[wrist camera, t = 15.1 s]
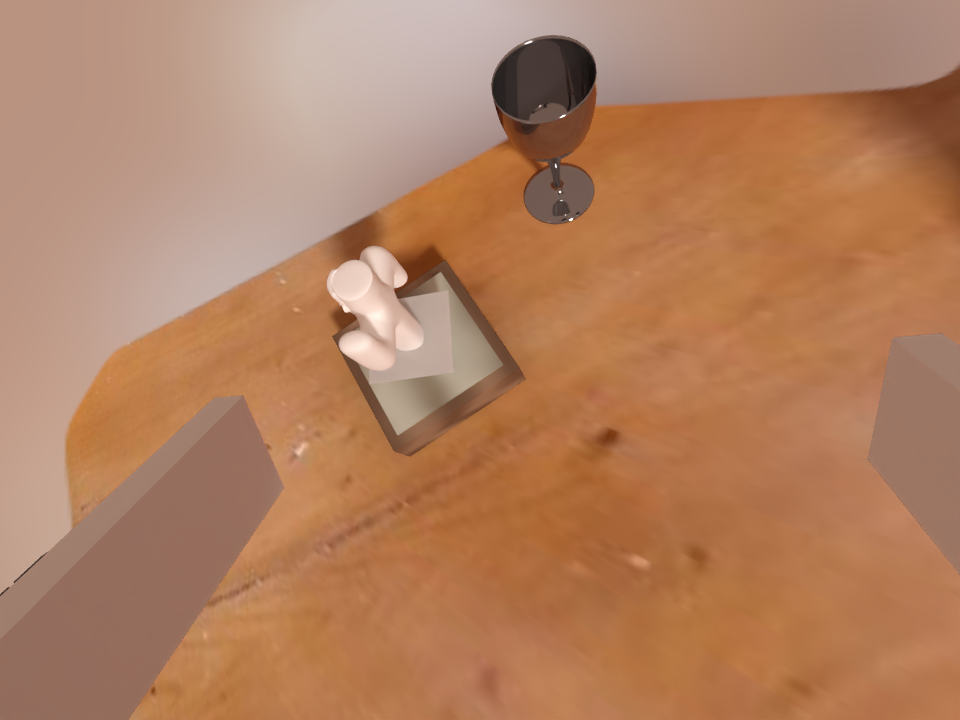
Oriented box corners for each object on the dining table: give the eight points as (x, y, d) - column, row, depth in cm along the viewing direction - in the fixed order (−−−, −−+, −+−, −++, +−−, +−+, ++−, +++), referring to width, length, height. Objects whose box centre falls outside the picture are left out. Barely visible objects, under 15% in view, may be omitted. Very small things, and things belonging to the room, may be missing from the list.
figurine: (458, 295, 48) (398, 202, 34) (466, 396, 45) (403, 339, 31) (384, 308, 49) (296, 224, 35) (386, 406, 46) (292, 357, 32)
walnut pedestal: (456, 277, 53) (444, 258, 49) (525, 379, 48) (518, 366, 44) (351, 349, 53) (330, 335, 49) (410, 456, 49) (392, 451, 45)
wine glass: (613, 201, 52) (617, 83, 38) (543, 241, 52) (521, 139, 38) (573, 146, 54) (562, 18, 40) (506, 185, 55) (473, 71, 41)
